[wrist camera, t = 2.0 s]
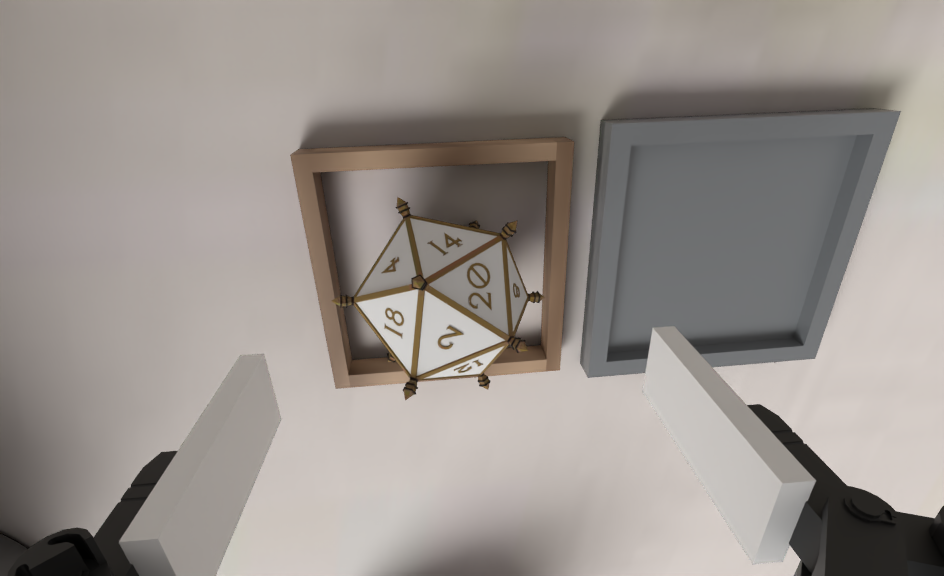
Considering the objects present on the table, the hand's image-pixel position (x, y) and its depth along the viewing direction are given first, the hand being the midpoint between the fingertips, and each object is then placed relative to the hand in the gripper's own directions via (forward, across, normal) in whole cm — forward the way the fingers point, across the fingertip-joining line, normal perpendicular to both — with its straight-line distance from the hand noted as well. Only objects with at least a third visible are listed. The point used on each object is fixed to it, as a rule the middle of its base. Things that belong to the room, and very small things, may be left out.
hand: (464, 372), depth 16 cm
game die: (+10, -1, 0) cm, 10 cm away
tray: (+10, +14, 0) cm, 18 cm away
